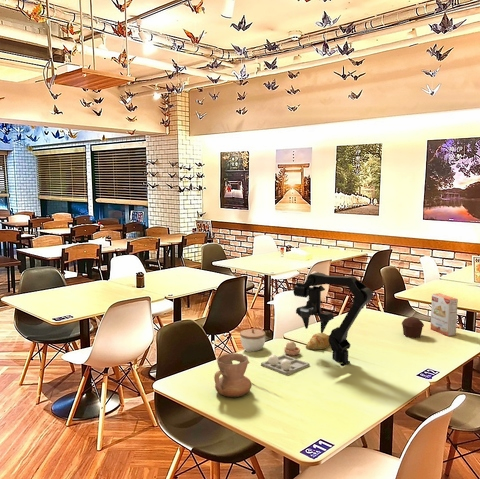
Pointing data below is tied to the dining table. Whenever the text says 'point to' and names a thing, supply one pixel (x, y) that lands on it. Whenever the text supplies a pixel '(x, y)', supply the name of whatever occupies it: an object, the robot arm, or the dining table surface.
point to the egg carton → (295, 365)
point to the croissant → (318, 341)
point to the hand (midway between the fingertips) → (314, 330)
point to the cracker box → (444, 314)
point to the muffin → (412, 327)
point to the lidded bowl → (252, 339)
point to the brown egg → (291, 346)
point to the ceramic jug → (232, 375)
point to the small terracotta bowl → (292, 351)
